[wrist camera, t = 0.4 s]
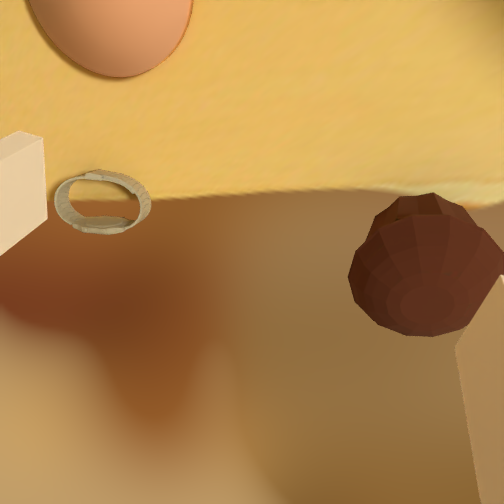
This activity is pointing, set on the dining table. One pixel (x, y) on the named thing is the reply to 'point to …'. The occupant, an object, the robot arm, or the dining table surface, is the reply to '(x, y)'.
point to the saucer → (115, 31)
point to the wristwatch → (101, 222)
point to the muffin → (424, 267)
